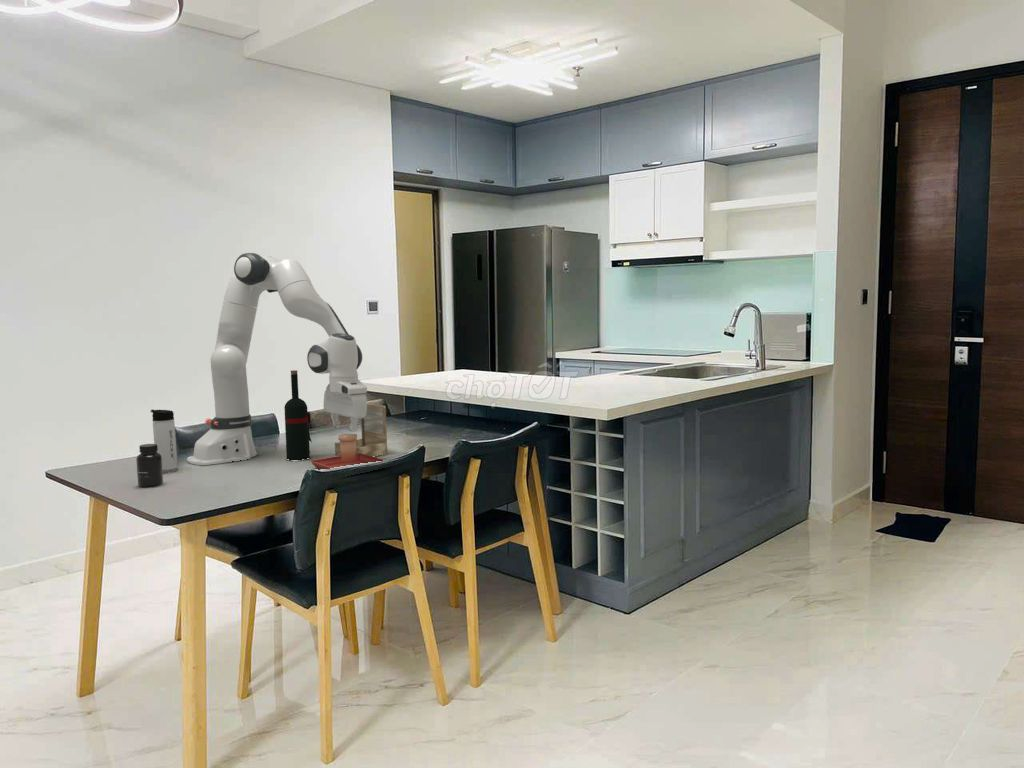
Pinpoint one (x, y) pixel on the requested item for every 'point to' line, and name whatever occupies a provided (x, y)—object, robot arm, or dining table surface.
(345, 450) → the terracotta pot
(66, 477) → the dining table surface
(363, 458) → the plant saucer
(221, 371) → the robot arm
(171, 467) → the travel mug
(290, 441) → the wine bottle
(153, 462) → the supplement bottle
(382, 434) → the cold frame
